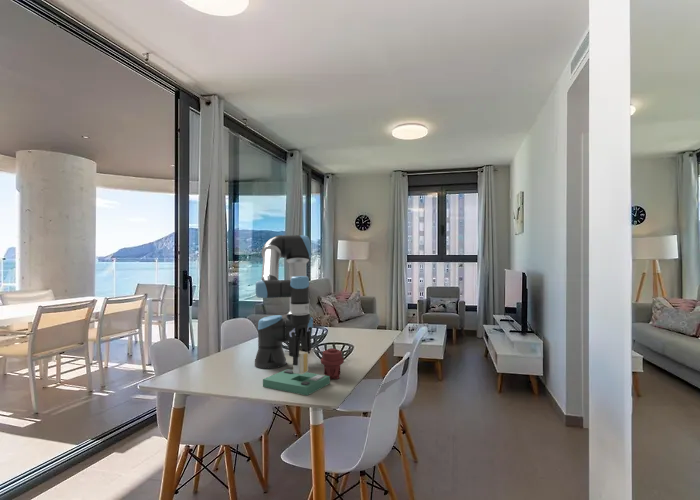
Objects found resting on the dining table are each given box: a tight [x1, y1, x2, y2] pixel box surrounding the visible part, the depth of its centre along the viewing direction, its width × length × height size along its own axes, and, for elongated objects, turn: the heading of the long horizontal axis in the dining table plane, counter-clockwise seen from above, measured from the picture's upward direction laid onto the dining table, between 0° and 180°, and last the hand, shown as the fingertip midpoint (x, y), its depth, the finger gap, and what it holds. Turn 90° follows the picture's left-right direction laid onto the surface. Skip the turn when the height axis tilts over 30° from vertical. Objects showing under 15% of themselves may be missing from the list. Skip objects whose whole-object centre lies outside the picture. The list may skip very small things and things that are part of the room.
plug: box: [296, 350, 309, 374], centre depth 162 cm, size 5×4×8 cm
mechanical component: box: [320, 347, 345, 380], centre depth 172 cm, size 12×10×10 cm
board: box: [262, 368, 331, 396], centre depth 163 cm, size 22×16×4 cm
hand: (300, 371), depth 162 cm, fingers closed on plug, 4 cm apart
